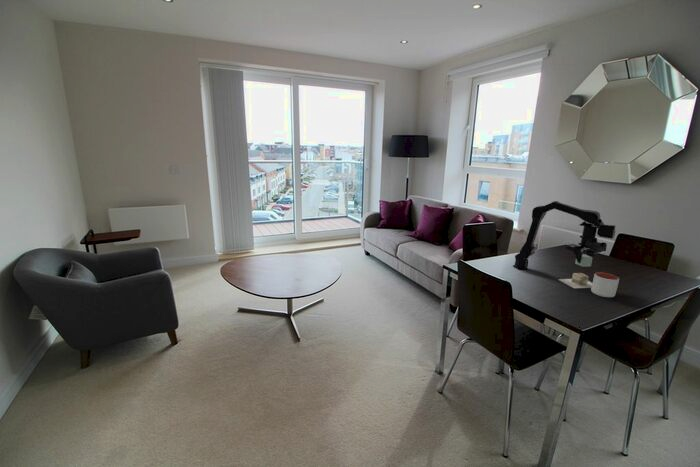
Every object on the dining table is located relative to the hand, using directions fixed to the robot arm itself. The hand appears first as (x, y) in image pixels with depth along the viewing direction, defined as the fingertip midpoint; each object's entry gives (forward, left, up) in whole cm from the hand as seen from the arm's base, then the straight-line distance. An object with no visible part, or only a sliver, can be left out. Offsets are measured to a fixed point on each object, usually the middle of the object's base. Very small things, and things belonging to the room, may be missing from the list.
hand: (583, 262), depth 175 cm
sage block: (0, 0, -1) cm, 1 cm away
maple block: (0, 0, -12) cm, 12 cm away
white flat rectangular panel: (0, 0, -12) cm, 12 cm away
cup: (+2, -13, -13) cm, 18 cm away
